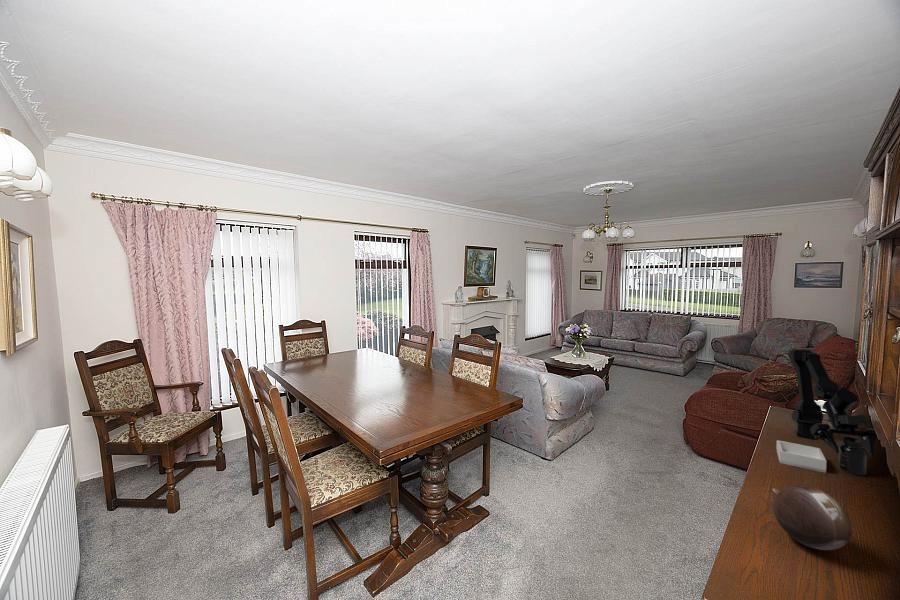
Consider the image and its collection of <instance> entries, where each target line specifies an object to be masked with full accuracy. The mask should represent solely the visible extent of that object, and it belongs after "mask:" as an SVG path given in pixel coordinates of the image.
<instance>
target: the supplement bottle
mask: <svg viewBox="0 0 900 600" xmlns="http://www.w3.org/2000/svg"><path fill="white" fill-rule="evenodd" d="M862 441H863V440H862V439H858V438H855V437H849V436H844V437H843V438H842V443H841V444H840V445H839V447H838V449H839V453H838V468H839V469H840V470H841V471H842V472H845V473H847V474H850V475H853V476H861V477H862V476H866V475H867V461H868V460H867V454H868V452H867V451H866V449H865V448H863V447H864V445H863V442H862Z"/></svg>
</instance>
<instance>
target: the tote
mask: <svg viewBox="0 0 900 600" xmlns="http://www.w3.org/2000/svg"><path fill="white" fill-rule="evenodd" d="M776 450H777V451H776V454H777V458H778V461H779V463H780V464H783V465H787V466H793V467H797V468H802V469H806V470H811V471H815V472H819V473H825V474H827V459H826V458H825V456H824V454H823V452H822V449H821V448H820V447H814V446H811V445H805V444H800V443H794V442H788V441H783V440H776Z"/></svg>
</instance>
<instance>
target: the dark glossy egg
mask: <svg viewBox="0 0 900 600" xmlns="http://www.w3.org/2000/svg"><path fill="white" fill-rule="evenodd" d="M773 501H774V502H773V504H772V506H773V507H772V508H773V514H774V516H775V518H776V521H777V522H778V524H779V526H780V527H781V528H782V529H783V530H784V531H785V533H786V534H787V535H788V536H790V537H791V538H792V539H794V540H795V541H796V542H798V543H801V545H804V546H806V547H808V548H812V549H816V550H821V551H833V550H834V551H835V550H837V549H841V548H842V547H844V546H845V545H847V544H848V543H849V541H850V539H851V538H852V534H853V525H852V520H851V518H850V516H849V514H848V512H847V511H846V510H845V508H844V506H843V505H842V504H841V503H840V502H839V501H837V500H836V499H835V498H834V497H833V496H832V495H830V494H828V493H826V491H822V490H820V489H818V488H815V487H813V486H809V485H804V484H803V485H802V484H800V485H799V484H796V485H795V484H794V485H789V486H786V487H783V488H782V489H781V490H779V492H777V494H776V495H775V497H774V500H773Z"/></svg>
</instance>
